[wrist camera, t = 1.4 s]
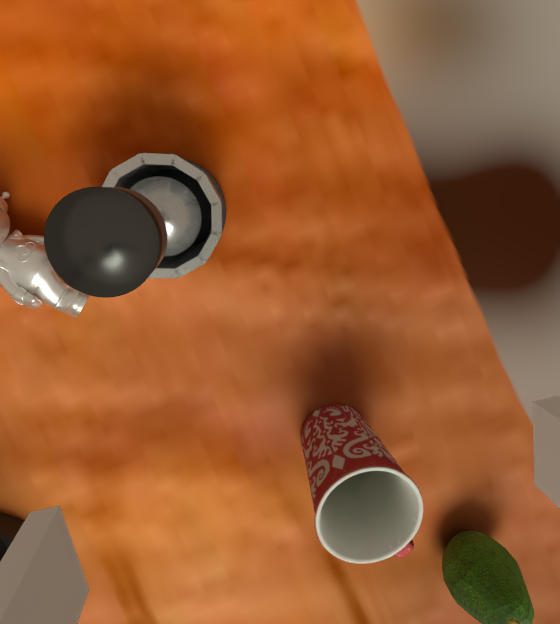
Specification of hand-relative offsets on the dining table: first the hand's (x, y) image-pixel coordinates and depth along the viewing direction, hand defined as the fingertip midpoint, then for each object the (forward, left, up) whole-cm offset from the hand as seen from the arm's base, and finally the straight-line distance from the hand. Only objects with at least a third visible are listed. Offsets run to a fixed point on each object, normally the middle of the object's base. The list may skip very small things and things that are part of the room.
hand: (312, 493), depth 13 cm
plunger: (-7, +6, -24) cm, 26 cm away
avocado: (+26, -33, -34) cm, 53 cm away
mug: (+10, -19, -34) cm, 40 cm away
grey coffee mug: (-7, +6, -33) cm, 34 cm away
